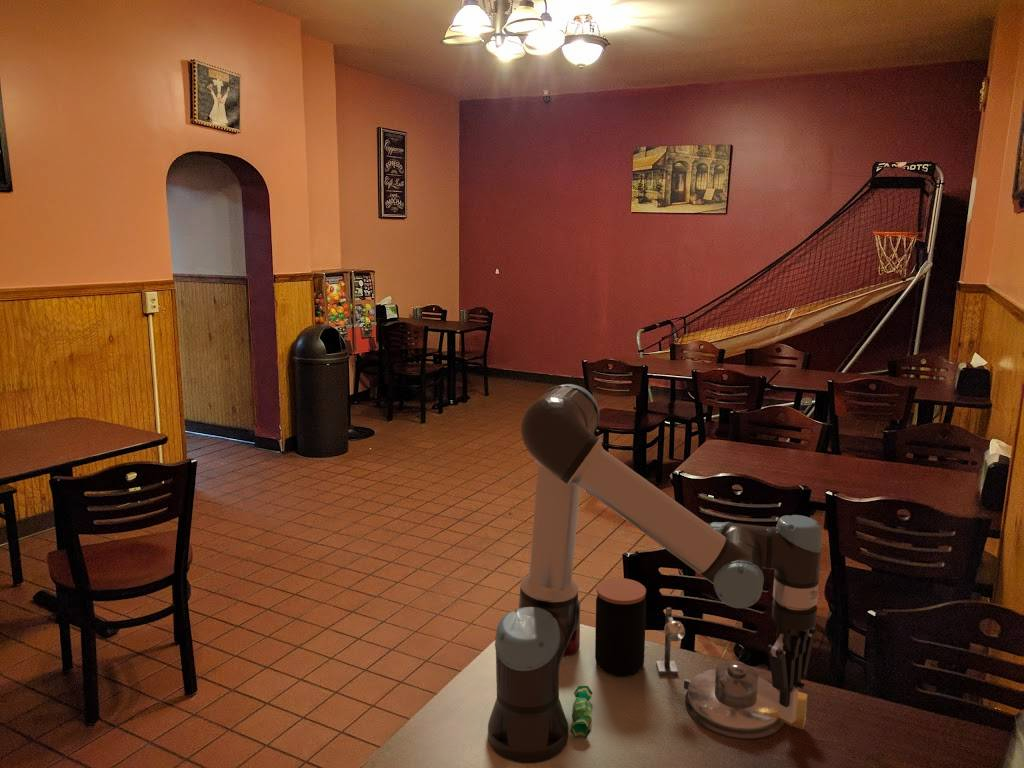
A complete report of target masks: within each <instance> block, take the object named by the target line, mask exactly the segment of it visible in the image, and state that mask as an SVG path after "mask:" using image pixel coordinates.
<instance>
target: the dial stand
mask: <svg viewBox="0 0 1024 768" xmlns="http://www.w3.org/2000/svg"><path fill="white" fill-rule="evenodd" d="M672 612H673V609H672V607H670V606H668V607H667V606H666V608H665V625H664V627H663V628H664V629H663V630H664V634H665V635H664V636H665V637H664V655H663V656H664V659H663V660H655V666H656V669H657V673H658V676H675V677H676V676H679V670H678V667H677V664H676V661H675V660H671V648H672V647H671V645H672V644H671V643H672V642H678V641H679V642H680V641H681V640H683V639H684V637H685V635H686V629H685V627H684V624H682V622H681V621H679V620H674V618H673V613H672Z"/></svg>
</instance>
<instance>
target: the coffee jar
mask: <svg viewBox="0 0 1024 768" xmlns="http://www.w3.org/2000/svg"><path fill="white" fill-rule="evenodd" d="M596 593H597V596H596V598H595V641H594V643H595V647H594V653H595V654H594V655H595V656H594V659H595V662H596V665H598V668H599V669H600V670H601V671H602V672H603V673H606V674H607V675H609V676H611V677H612V676H613V677H618V678H627V677H631V676H634V675H637V673H639V672H640V670H641V669H642V668H643V666H644V664H645V652H646V651H645V647H646V645H645V643H646V642H645V641H646V615H647V614H646V611H647V609H646V607H647V600H646V594H647V588H646V587H645V585H643V584H642V583H640V582H639V581H636V580H635V579H634V580H633V579H630V578H626V577H625V578H624V577H614V578H613V577H611V578H608V579H607V578H606V579H604V580H602V581H600V582H599V583H597V586H596Z"/></svg>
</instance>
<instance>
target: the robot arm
mask: <svg viewBox="0 0 1024 768" xmlns="http://www.w3.org/2000/svg"><path fill="white" fill-rule="evenodd" d="M599 423H600V408H599V404H598V401H597V400H596V398H595V397H594V396H593V394H592V393H591V392H590V391H588V390H587V389H586V388H584V387H582V386H580V385H577V384H572V383H566V384H565V383H564V384H560V385H556V386H553V387H551V388H549V389H548V390H546V391H545V392H544V394H543V395H542V396H541V397H539V398H538V399H537V400H535V401H534V402H533V403H531V404H529V406H528V407H527V408H526V410H525V411H524V413H523V416H522V420H521V423H520V433H521V438H522V441H523V444H524V447H525V448H526V449H527V451H528V453H529V454H530V456H531V458H532V459H533V460H534V461H536V463H537V471H536V474H537V475H536V484H535V494H534V495H535V496H534V509H533V518H532V519H533V521H532V532H531V546H530V558H529V569H528V574H527V575H525V576H524V577H523V578H522V579H521V582H520V588H519V599H518V608H516V609H515V611H512V610H511V611H509V612H507V613H505V614H504V615H503V617H501V618H500V620H499V621H498V624H497V627H496V633H495V636H494V637H495V638H494V639H495V642H494V647H495V673H496V674H495V675H496V679H495V680H496V699H495V702H494V705H493V708H492V711H491V713H490V716H489V719H488V723H487V724H488V725H487V740H488V743H489V745H490V747H491V748H492V750H493V751H494V752H495V753H496V754H497V755H498V756H501V757H502V758H504V759H506V760H509V761H512V762H515V763H522V764H535V763H542V762H545V761H548V760H551V759H553V758H555V757H556V756H557V755H559V754H561V753H562V751H564V749H565V747H567V743H568V741H569V724H568V720H567V717H566V714H565V711H564V709H563V708H564V707H563V705H562V704H561V700H560V666H561V662H562V659H563V658H564V657H563V655H564V653H565V650H566V648H567V646H568V644H569V641H570V639H571V637H572V635H573V633H574V631H575V629H576V627H577V625H578V622H579V618H580V619H581V602H580V599H579V597H578V596H579V585H578V583H576V581H575V580H574V579H573V570H574V559H575V549H576V537H577V529H578V517H579V508H580V507H579V506H580V498H581V497H580V496H581V495H580V494H581V488H582V489H583V490H584V491H586V492H587V493H588V494H590V495H591V496H592V497H594V498H595V499H597V500H598V501H599V502H601V503H602V504H603V505H605V506H606V507H607V508H609V509H610V510H612V511H613V512H615V513H616V514H617V515H618V516H619V517H621V518H622V519H624V520H626V521H627V522H628V523H629V524H631V525H632V526H634V527H635V528H636V529H638V530H639V531H640V532H642V533H643V534H644V535H646V536H647V537H649V538H650V539H652V540H653V541H654V542H655V543H656V544H658V545H659V546H660V547H662V548H664V549H665V550H667V552H669V553H670V554H672V555H673V556H674V557H676V558H677V559H679V560H680V561H681V562H683V563H684V564H685V565H687V566H688V567H690V568H691V569H692V570H693V571H695V572H697V573H698V574H699V575H701V576H702V577H704V579H706V580H707V581H708V582H710V583H711V584H713V589H714V592H715V594H716V596H717V597H718V599H719V600H720V601H721V602H722V603H723V604H725V605H726V606H728V607H731V608H734V609H746V608H750V607H752V606H753V605H755V604H756V603H757V602H758V601H759V600H760V598H761V597H762V593H763V590H764V589H763V586H764V582H765V577H764V573H763V570H773V571H774V573H773V574H774V576H773V587H772V588H773V589H772V597H773V598H772V606H771V608H772V609H771V618H772V620H773V621H774V622H775V625H777V630H776V634H775V640H776V641H775V642H774V644H773V645H772V644H768V645H767V647H766V651H767V653H768V655H769V663H770V673H771V682H772V683H771V684H772V685H773V687H774V688H776V689H777V690H778V691H779V693H780V696H779V711H778V717H780V718H782V719H784V720H786V721H788V722H789V723H791V724H792V723H793V722H794V721H795V720H796V710H797V695H798V692H799V689H801V690H803V689H804V688H805V685H806V684H804V683H803V682H802V680H803V681H805V680H806V677H807V674H808V668H809V664H810V663H809V662H810V658H811V653H812V648H813V647H812V646H813V644H814V643H813V642H814V639H815V637H816V633H817V627H815V626H816V624H817V618H818V617H817V615H818V614H817V613H818V606H817V603H818V598H819V597H820V592H819V582H820V572H821V562H822V551H823V548H822V547H823V544H822V543H823V528H822V526H821V524H820V523H819V522H818V521H817V520H815V519H814V518H811V517H810V516H809V517H808V516H805V515H800V514H792V515H789V514H788V515H787V514H786V515H782V516H781V517H779V518H778V520H777V524H776V525H775V526H765V525H753V524H745V523H736V522H735V523H734V522H732V521H725V522H724V521H723V522H721V521H720V522H719V521H713V522H711V523H709V524H708V523H707V522H705V521H704V520H703V519H701V518H700V517H698V516H697V515H695V514H694V513H693V512H691V511H690V510H689V509H687V508H686V507H685V506H683V505H682V504H680V503H679V502H678V501H676V500H674V499H673V498H672V497H670V496H669V495H668V494H666V493H665V492H664V491H662V490H661V489H659V488H658V487H657V486H655V484H653V483H651V482H650V481H648V480H647V479H646V478H645V477H643V476H642V475H640V474H639V473H637V472H636V471H634V469H632V468H631V467H629V466H628V465H626V464H625V463H624V462H622V461H621V460H620V459H618V458H616V457H615V456H614V455H612V454H611V453H610V452H608V451H607V450H605V449H604V448H603V444H602V439H600V438H599V437H598V436H596V435H595V431H596V430H597V428H598V426H599ZM579 602H580V603H579Z"/></svg>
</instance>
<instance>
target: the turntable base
mask: <svg viewBox="0 0 1024 768" xmlns="http://www.w3.org/2000/svg"><path fill="white" fill-rule="evenodd" d="M684 704H685V709H686V711H687V713H688V714H689V716H690V717H691V718H692V719H693V720H694V721H695V722H696V723H697V724H698V725H700V726H701V727H702V728H704V729H706V730H708V731H709V732H711V733H714V734H716V735H719V736H720V737H721V736H723V737H725V738H728V739H729V738H730V739H734V740H741V741H742V740H744V741H753V740H761V739H765V738H768V737H772V736H773V735H775V734H777V733H779V732H780V730H781V729H782V728H783V726H784V724H785V723H783V722H779V723H778V724H777V725H776V726H775V727H773V728H771V729H769V730H767V731H764V732H759V733H736V732H731V731H727V730H723V729H720V728H718V727H715V726H713V725H711V724H709V723H707V722H705V721H704V720H703V719H701V718H700V717H699V716H698V715H696V714H695V712H694V711H693V710H692V708H691V707H690V705H689V702H688V690H687V692H686V693H685V697H684Z"/></svg>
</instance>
